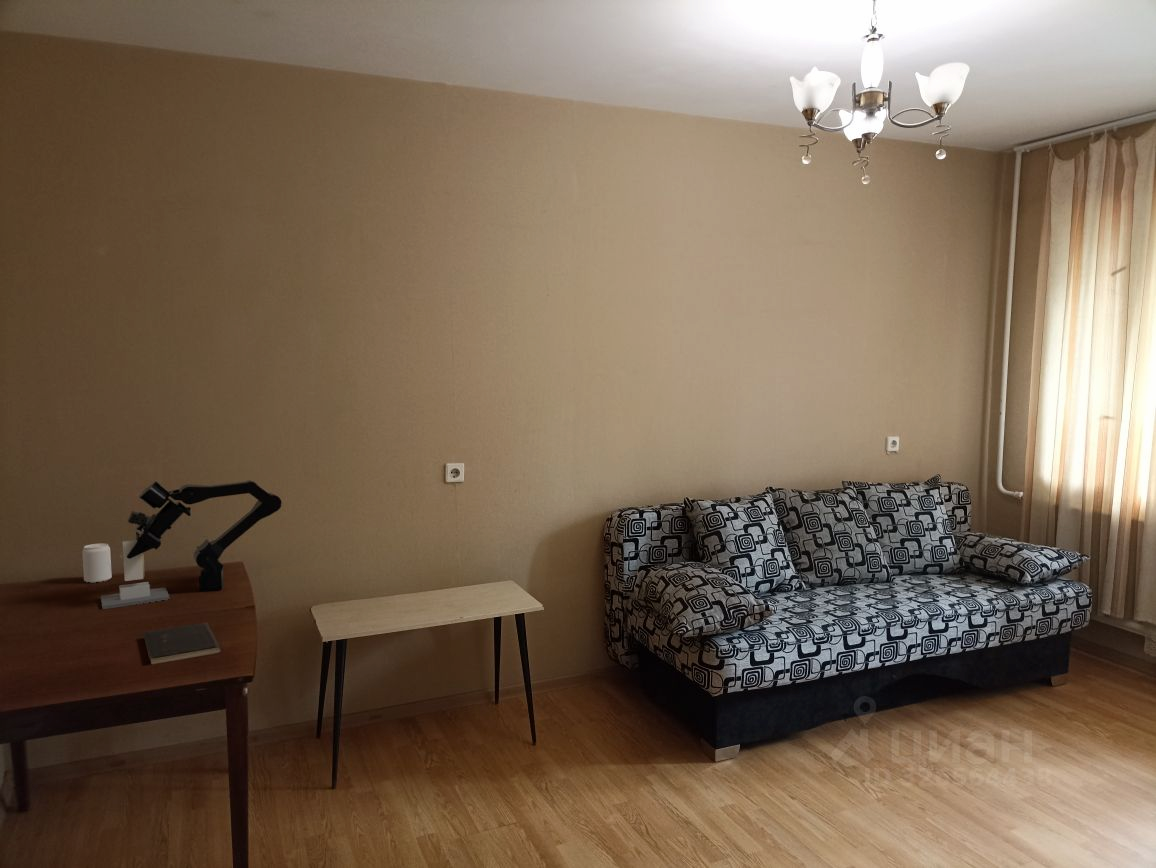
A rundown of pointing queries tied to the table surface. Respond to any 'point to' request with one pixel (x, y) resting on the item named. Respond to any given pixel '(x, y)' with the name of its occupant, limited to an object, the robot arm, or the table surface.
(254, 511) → the robot arm
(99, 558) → the beverage can
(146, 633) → the hardcover book
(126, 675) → the table surface
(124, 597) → the grey base plate
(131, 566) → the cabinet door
